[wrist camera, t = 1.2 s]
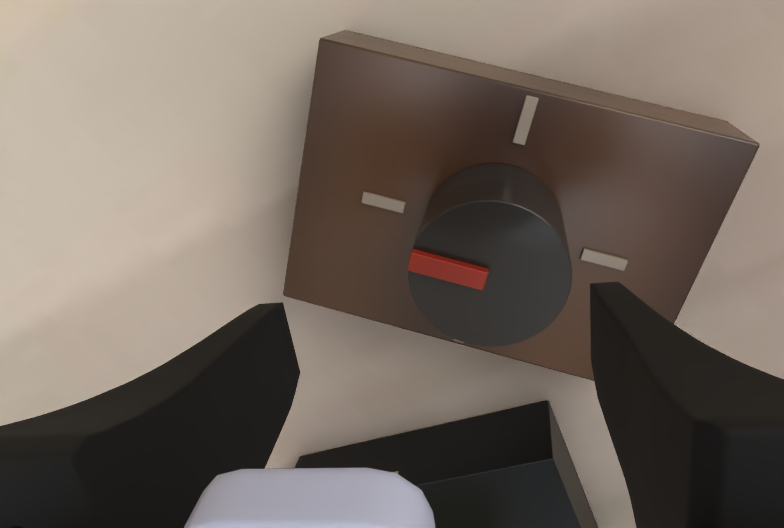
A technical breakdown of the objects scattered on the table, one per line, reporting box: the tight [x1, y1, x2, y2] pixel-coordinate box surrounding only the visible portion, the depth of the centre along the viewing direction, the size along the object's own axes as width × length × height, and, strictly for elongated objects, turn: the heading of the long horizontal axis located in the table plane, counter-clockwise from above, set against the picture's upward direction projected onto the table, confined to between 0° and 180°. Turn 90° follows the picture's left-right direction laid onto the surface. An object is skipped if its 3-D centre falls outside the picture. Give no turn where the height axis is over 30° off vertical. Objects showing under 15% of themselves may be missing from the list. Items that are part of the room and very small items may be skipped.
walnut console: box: [283, 30, 759, 381], centre depth 21 cm, size 13×9×3 cm
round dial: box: [407, 163, 572, 347], centre depth 18 cm, size 4×4×4 cm
